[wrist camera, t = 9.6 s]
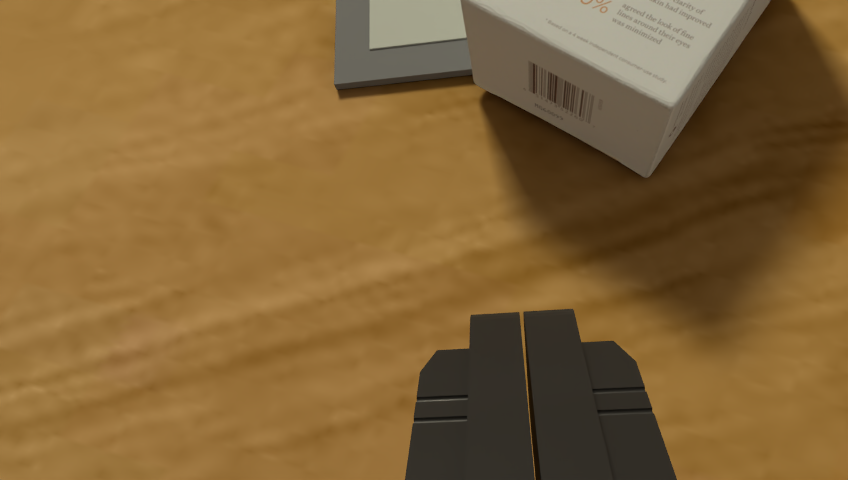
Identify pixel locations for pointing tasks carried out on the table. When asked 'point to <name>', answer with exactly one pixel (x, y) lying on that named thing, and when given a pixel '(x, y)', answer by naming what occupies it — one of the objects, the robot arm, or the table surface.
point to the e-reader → (399, 42)
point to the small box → (607, 64)
